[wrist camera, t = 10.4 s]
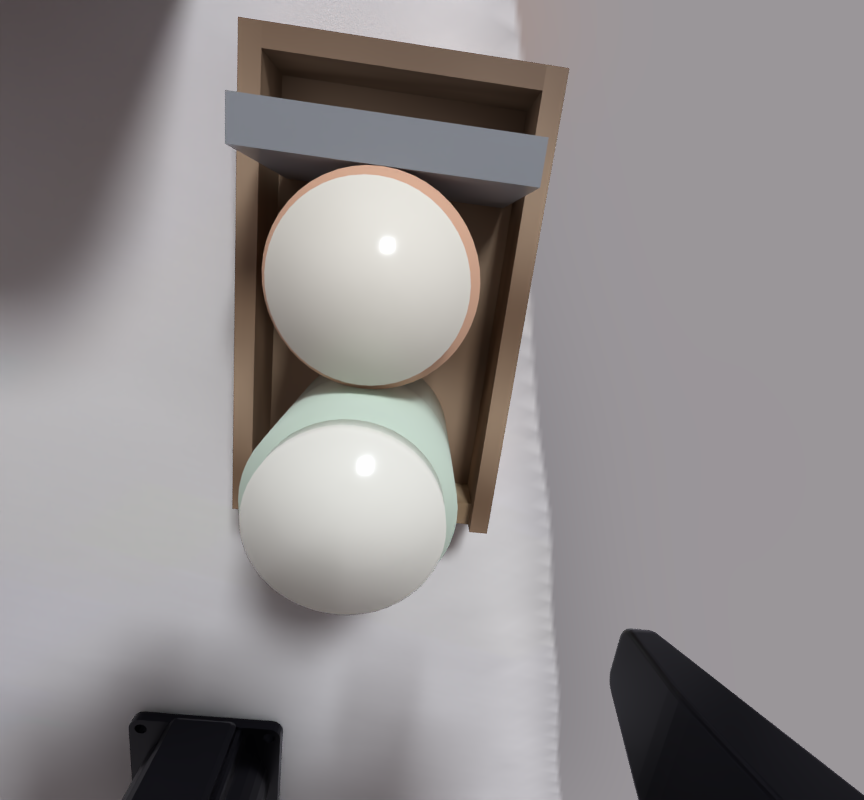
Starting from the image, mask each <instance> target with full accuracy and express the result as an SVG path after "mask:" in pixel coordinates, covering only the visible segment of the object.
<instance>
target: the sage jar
mask: <svg viewBox="0 0 864 800" xmlns="http://www.w3.org/2000/svg"><path fill="white" fill-rule="evenodd" d="M238 507H239V528H240V535H241V540H242V544H243V547H244V549H245V552H246V555H247V556H248V558H249V560H250V562H251V564H252V566H253V567H254V568H255V570H256V571H257V573H258V574H259V575H260V576H261V578H262V579H263V580H264V581H265V582H266V583H267V584H268V585H269V586H270V587H272V588H273V589H274V590H275V591H276V592H278V593H279V594H281V595H282V596H284V597H285V598H287V599H288V600H290V601H292V602H294V603H296V604H298V605H300V606H303V607H306V608H308V609H311V610H315V611H319V612H323V613H329V614H336V615H355V614H364V613H370V612H375V611H378V610H381V609H384V608H387V607H389V606H392V605H394V604H396V603H398V602H400V601H402V600H403V599H405V598H407V597H408V596H410V595H411V594H412V593H413V592H415V591H416V590H417V589H418V588H419V587H420V586H421V585H422V584H423V583H424V582H425V581H426V580H427V579H428V577H429V576H430V575H431V573H432V572H433V571H434V569H435V567H436V565H437V563H438V562H439V561H440V559H441V558H442V557H443V555H444V553H445V552H446V550H447V548H448V546H449V544H450V542H451V539H452V537H453V534H454V530H455V526H456V521H457V510H458V505H457V493H456V486H455V480H454V473H453V467H452V460H451V454H450V447H449V441H448V434H447V428H446V421H445V417H444V412H443V409H442V407H441V404H440V402H439V400H438V398H437V396H436V394H435V393H434V391H433V390H432V389H431V387H430V386H429V385H428V384H427V383H426V382H425V381H424V380H423V379H422V378H421V379H419V380H416V381H414V382H411V383H408V384H405V385H402V386H398V387H393V388H386V389H362V388H356V387H351V386H347V385H344V384H341V383H337V382H335V381H332V380H330V379H328V378H326V377H324V376H322V375H319V376H318V377H317V378H316V379H315V380H314V381H312V383H311V384H310V385H309V386H308V387H307V388H306V390H305V391H304V392H303V393H302V394H301V395H300V397H299V398H298V399H297V400H296V401H295V402H294V404H293V405H292V406H291V407H290V408H289V409H288V411H287V412H286V413H285V414H284V415H283V416H282V418H281V419H280V420H279V421H278V422H277V423H276V424H275V426H274V427H273V428H272V429H271V430H270V431H269V433H268V434H267V435H266V436H265V437H264V438H263V440H262V441H261V442H260V443H259V445H258V446H257V447H256V448H255V450H254V451H253V453H252V454H251V456H250V458H249V459H248V461H247V463H246V466H245V468H244V471H243V473H242V477H241V481H240V485H239V494H238Z"/></svg>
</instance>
